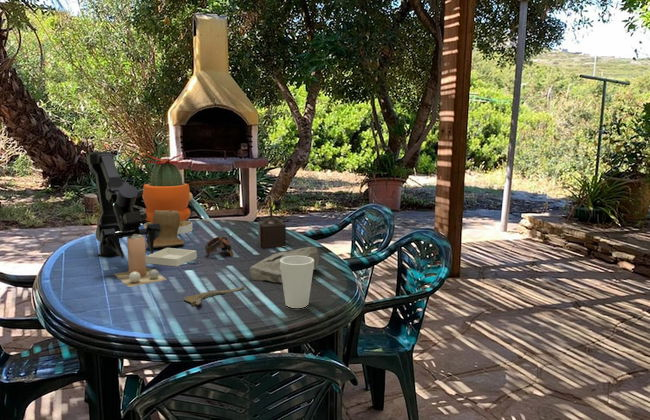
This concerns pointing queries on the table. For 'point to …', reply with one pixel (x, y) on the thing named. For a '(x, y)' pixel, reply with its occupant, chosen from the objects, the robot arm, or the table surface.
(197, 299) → the jawbone
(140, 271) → the terracotta jar
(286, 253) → the stone
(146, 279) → the beech board
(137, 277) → the white pebble
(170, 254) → the cream dish
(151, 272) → the grey pebble
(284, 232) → the brown potted sapling
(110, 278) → the table surface
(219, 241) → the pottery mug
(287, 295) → the foam cup
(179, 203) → the potted cactus
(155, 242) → the brown flared stand
